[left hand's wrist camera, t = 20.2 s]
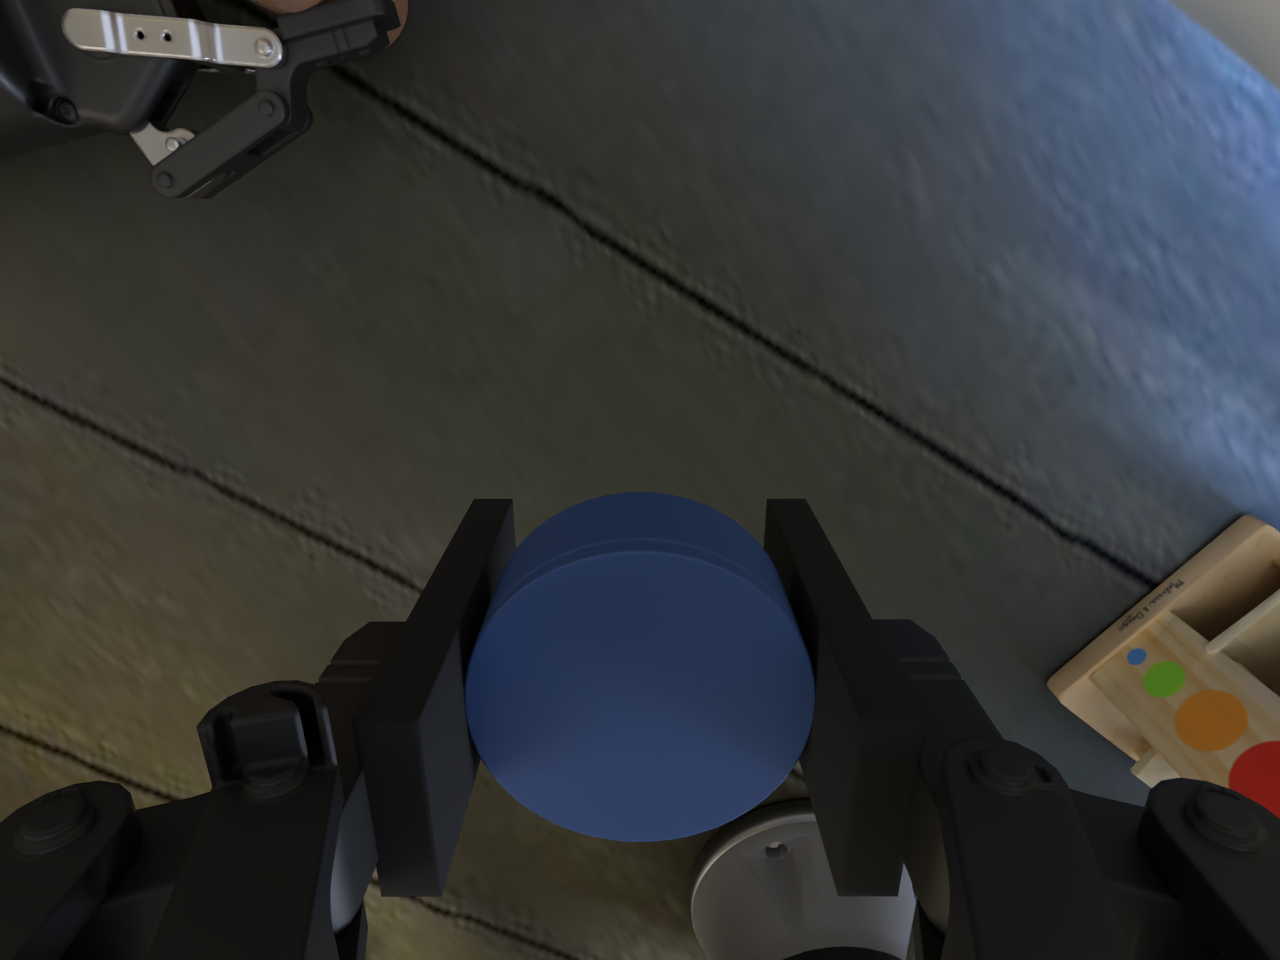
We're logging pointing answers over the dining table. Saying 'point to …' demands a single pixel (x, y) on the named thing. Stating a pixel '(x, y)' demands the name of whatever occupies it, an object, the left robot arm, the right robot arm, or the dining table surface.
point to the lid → (639, 671)
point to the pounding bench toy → (1194, 670)
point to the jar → (284, 3)
